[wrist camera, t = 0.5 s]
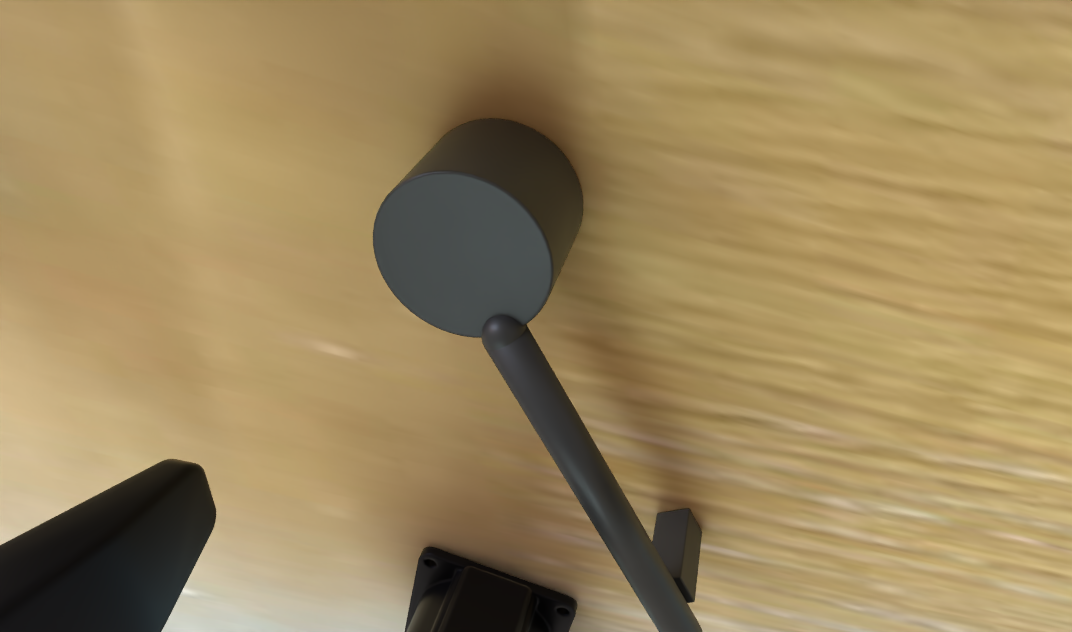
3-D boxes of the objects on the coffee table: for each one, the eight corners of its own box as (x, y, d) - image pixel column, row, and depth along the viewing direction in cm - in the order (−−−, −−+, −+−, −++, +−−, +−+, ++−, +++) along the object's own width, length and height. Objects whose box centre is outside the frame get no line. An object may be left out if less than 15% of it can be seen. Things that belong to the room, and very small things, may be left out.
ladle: (763, 551, 27) (761, 659, 23) (640, 566, 29) (622, 668, 25) (536, 90, 20) (486, 152, 16) (394, 154, 22) (325, 220, 18)
